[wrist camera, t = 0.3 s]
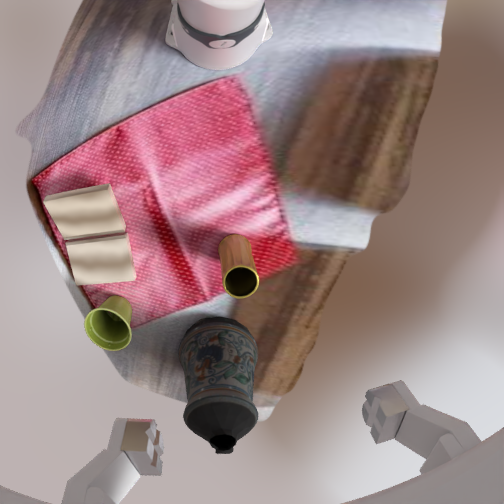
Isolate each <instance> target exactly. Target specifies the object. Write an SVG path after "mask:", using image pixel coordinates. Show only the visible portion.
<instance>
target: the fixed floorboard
mask: <svg viewBox="0 0 504 504" xmlns="http://www.w3.org/2000/svg"><path fill="white" fill-rule="evenodd" d="M66 247H67V251H68V255H69V259H70V263H71V267H72V271H73V275H74V278H75V282H76V285H89V284H101V283H113V282H124V281H135V279H136V272H135V267H134V263H133V258H132V252H131V247H130V242H129V236H128V232H126V233H118V234H110V235H103V236H95V237H88V238H80V239H73V240H69V241H67V242H66Z"/></svg>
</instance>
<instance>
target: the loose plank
mask: <svg viewBox="0 0 504 504" xmlns="http://www.w3.org/2000/svg"><path fill="white" fill-rule="evenodd" d="M43 203H44V205H45V206H46V208H47V210H48V212H49V214H50V215H51V217H52V219H53V221H54V222H55V224H56V226H57V228H58V229H59V231H60V233H61V234H62V236H63V238H64V240H70V239H77V238H84V237H91V236H99V235H106V234H114V233H122V232H125V228H126V224H125V222H124V219H123V217H122V214H121V212H120V209H119V207H118V204H117V201H116V199H115V196H114V193H113V191H112V188H111V185H110V183H109V184H103V185H98V186H92V187H87V188H81V189H76V190H71V191H66V192H62V193H57V194H52V195H48V196H46V197H45V199H44V201H43Z"/></svg>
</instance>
